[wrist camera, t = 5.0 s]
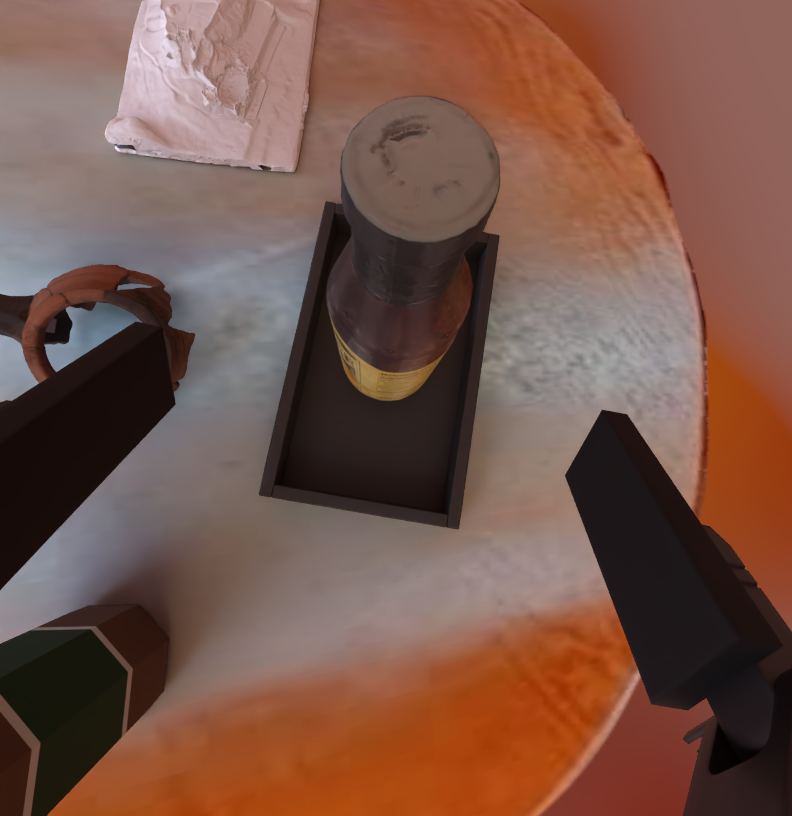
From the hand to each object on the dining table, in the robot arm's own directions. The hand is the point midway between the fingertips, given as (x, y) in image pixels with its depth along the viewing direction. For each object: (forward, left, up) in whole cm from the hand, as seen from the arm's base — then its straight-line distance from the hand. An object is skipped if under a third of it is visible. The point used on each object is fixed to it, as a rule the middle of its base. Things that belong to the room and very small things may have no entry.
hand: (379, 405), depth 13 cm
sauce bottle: (0, +6, -16) cm, 17 cm away
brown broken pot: (-19, +4, -17) cm, 25 cm away
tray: (0, +6, -16) cm, 17 cm away
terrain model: (-18, +30, -17) cm, 38 cm away
